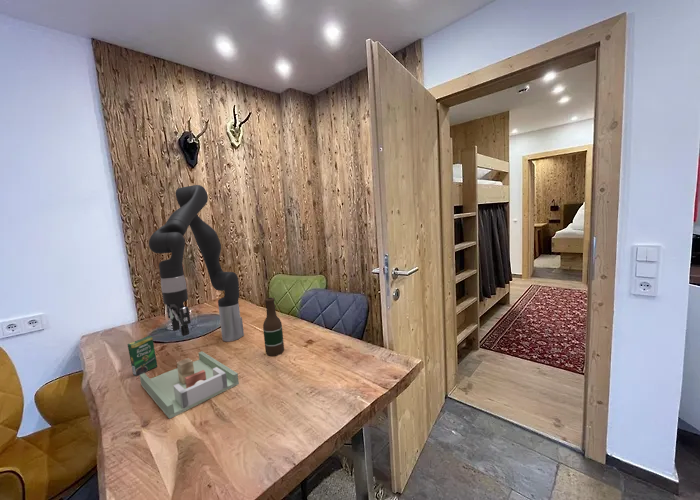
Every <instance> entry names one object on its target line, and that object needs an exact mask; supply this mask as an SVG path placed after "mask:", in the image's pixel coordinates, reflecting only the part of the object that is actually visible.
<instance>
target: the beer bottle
mask: <svg viewBox="0 0 700 500" xmlns="http://www.w3.org/2000/svg"><path fill="white" fill-rule="evenodd" d="M265 303H266V317H265V319H264V321H263V325H262V328H263V329H262V330H263V340H264V350H265V353H266V354H265V355H267V356H268V357H276V356H279V355H282V354H283V353H284V350H285V343H284V335H283V334H284V333H283V325H282V321H281V320H280V319H281V318H279V316H278V315H277V312H276V306H275V298H274V297H266V299H265Z"/></svg>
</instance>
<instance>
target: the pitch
mask: <svg viewBox="0 0 700 500" xmlns="http://www.w3.org/2000/svg"><path fill="white" fill-rule="evenodd" d="M193 366H194V374H195V373H197V372H199V371H202V370H204V371H205V373H206V380H207V379H209V378H211V377H213V368H216V367H217V368H219V369H221V370H222V371H224V372H225V373H226V378H227V386H228V387H226V388H224V389H222V390H220V391H218V392H216V393H214V394H212V395H210V396H208V397H206V398H204V399H202V400H200V401H198V402H196V403H194V404H192V405H190V406H188V407H186V408H184V409H183V408H182V407H181V406H180V405H179V404H178V402H177V401H176V400H175V394H174V388H173V386H174V385H176V384H179V385H181V386H182V387H183V388H184V389H186V383H185V384H182V383H181V382H180V381H179V376H178V369H177V368H174V369H171V370H169V371H166V372H163V373H162V374H159V375H157V376H154V377H151V378H150V377H149V376H148V375H147V374H146V372H145V373H143V374H140V375H139V380H140V386H142V388H143V389H144V390H145V391H146V392H147V394H148V395H149V397H150V398H151V399H152V400H153V401H154V402H155V403H156V405H157V406H158V407H159V409H161V411H162V412H163V413H164V415H165V416H166V417H167V418H168V419H169V420H170V419H172V418H174V417H177V416H178V415H180V414H182V413H184V412H187V411H188V410H190V409H192V408H194V407H196V406H198V405H200V404H202V403H204V402H206V401H208V400H210V399H212V398H214V397H215V396H218V395H220V394H223V393H224V392H225V391H226V392H227V391H228V390H230V389H231V388H234V387H236V386H238V385H240V382H239V374H238V372H236V371H235V370H233V369H231V368H230V367H228V366H226V365H225V364H223V362H222V363H221V362H220V361H219V360H217V359H215V358H214V357H212V356H211V355H209V354H207V353H206V352H204V351H203V350H202V351H198V359H197V360H195V361H194V360H193Z"/></svg>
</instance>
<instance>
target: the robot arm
mask: <svg viewBox="0 0 700 500" xmlns="http://www.w3.org/2000/svg"><path fill="white" fill-rule="evenodd" d="M175 190H176V191H175V198H176V202H177V204H178V206H179V207H178V208H177V209H176V210H174V212H172V213H171V215H170V216H169V217H168V219H167V221H166V222H165V224H163V225H162V226H161V227H159V228H158V229H157V230H155V231H154V232H153V233H152V234H151V235H150V237H149V240H148V247H149V249H150V250H151V252H153V253H155V254H171V256H170V258H168V259H165V260H161V261H160V262H159V264H158V268H159V275H160V286H161V293H162V301H163V304H164V305H166V311H167V318H168V319H169V320H170V322H171V326H172V331H173V332H176V331H179V330H180V331H181V336H182V337H185V336H188V335H189V334H190V329H189V324H191V323H192V322H191V317H190V311H189V307H188V306H185V304H184V303H185V302H186V301H188V299H189V295H188V287H187V281H186V278H185V275H184V274H185V273H184V266H183V259H184V252H185V248H186V247H185V245H186V239H185V237H184V235H185V234H186V232H187V230H188V228H189V227H190V229H191V231H192V234H193V237H194V240H195V242H196V245H197V247H198V250H199V252H200V254H201V256H202V258H203V262H204V264H205V266H206V269H207V273H208V276H209V279H210V283H211V286H212V288H214V290H216V291H221V292H222V291H223V292H224V296H223V297H220V298H219V299H218V301H217V304H218V305H217V306H218V311H219V312H218V314H219V321H220V322H219V323H220V331H221V339H222V341H223V342H234V341H237V340H239V339H241V338H242V337H244V336H245V332H244V324H243V323H244V322H243V317H242V316H241V314H240V313H241V311H240V305H239V304H240V303H239V302H240V301H239V299H240V284H239V277H238V274H237V273H236V272H233V271H223V268H222V266H221V264H220V257H221V251H222V244H221V242H220V239H219V236H218V233H217V232H216V230H215V229H214V228H213V227H212V226H211V225H209V224H208V223H206V222H205V221H204V220H203V219H202V218H201V217H200V216H199V215H198V214H199V213H200V212H201V211H202V209H203V208H204V207H205V206H206V205H207V203H208V200H209V198H208V197H209V195H208V192H207V190H206V189H205V187H204V186H202V185H200V184H193V185H188V186H183V187H178V188H177V189H175Z"/></svg>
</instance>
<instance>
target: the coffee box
mask: <svg viewBox="0 0 700 500" xmlns="http://www.w3.org/2000/svg"><path fill="white" fill-rule="evenodd" d="M127 349H128V355H129V360H130V364H131V371H132V374H133V376H136V377H139V376H140V374H143V373H145V374H146V373H147V372H149V371H152V370H154V369H155V368H158V361H157V355H156V352H155V351H156V350H155V344H154V339H153V336H150V335H149V336H146V337H143V338H140V339H138V340H136V341H132V342H130V343H127Z"/></svg>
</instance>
